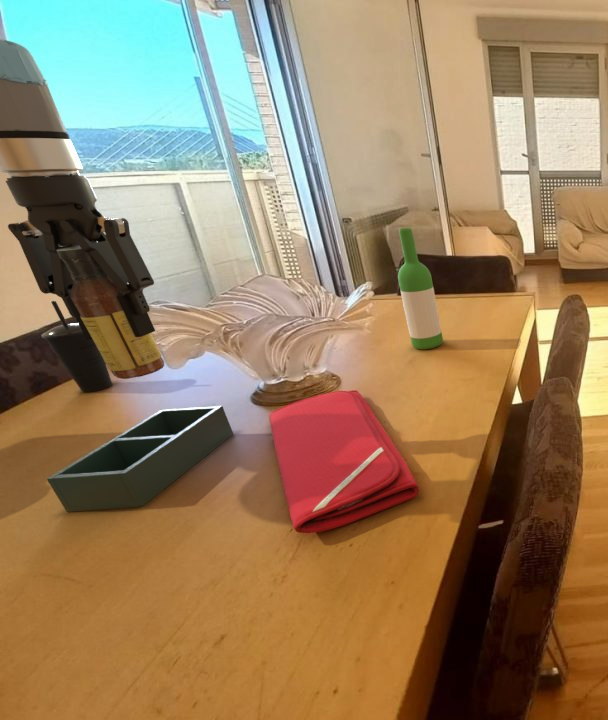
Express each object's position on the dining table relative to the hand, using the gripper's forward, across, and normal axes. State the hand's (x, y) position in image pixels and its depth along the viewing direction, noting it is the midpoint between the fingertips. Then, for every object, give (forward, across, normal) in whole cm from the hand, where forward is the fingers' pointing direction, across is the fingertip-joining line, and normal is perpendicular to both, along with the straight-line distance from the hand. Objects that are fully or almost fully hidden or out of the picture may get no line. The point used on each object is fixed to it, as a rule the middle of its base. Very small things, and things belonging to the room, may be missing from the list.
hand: (121, 335), depth 73 cm
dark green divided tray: (+21, -1, +5) cm, 22 cm away
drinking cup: (+21, +39, -30) cm, 53 cm away
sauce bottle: (+7, 0, 0) cm, 7 cm away
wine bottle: (+21, -29, -46) cm, 58 cm away
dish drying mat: (+21, -29, +4) cm, 36 cm away
